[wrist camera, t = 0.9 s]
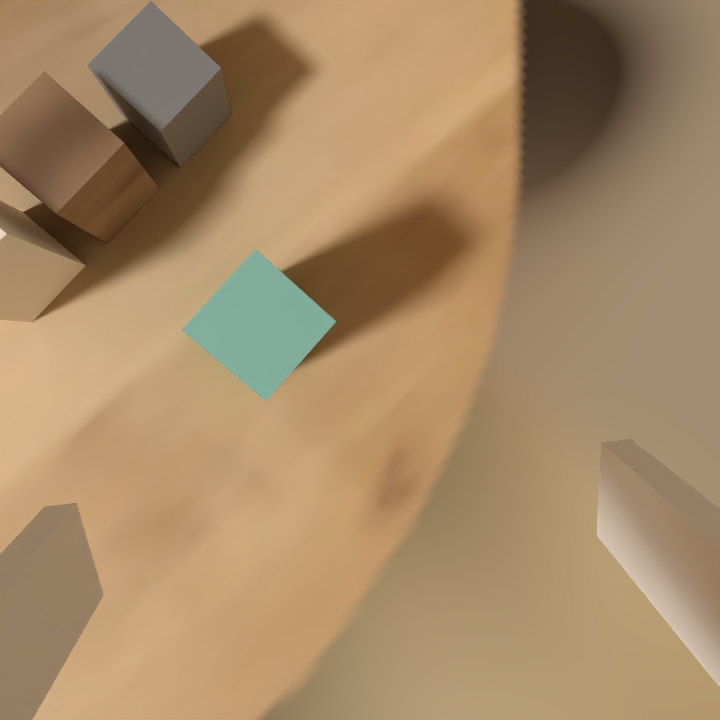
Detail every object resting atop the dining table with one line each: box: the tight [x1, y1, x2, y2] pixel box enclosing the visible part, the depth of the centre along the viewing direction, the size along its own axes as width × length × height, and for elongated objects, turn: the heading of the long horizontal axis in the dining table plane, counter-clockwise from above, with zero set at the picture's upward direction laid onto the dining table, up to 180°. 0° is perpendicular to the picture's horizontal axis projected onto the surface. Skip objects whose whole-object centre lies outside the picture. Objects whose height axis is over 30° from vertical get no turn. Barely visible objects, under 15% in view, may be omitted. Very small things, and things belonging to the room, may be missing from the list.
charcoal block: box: [88, 2, 231, 167], centre depth 32 cm, size 5×5×6 cm
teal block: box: [182, 249, 336, 401], centre depth 30 cm, size 5×5×12 cm
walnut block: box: [0, 72, 160, 244], centre depth 30 cm, size 5×5×8 cm
